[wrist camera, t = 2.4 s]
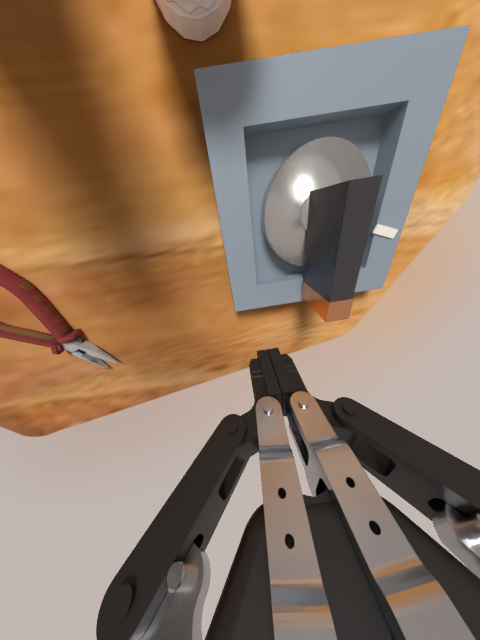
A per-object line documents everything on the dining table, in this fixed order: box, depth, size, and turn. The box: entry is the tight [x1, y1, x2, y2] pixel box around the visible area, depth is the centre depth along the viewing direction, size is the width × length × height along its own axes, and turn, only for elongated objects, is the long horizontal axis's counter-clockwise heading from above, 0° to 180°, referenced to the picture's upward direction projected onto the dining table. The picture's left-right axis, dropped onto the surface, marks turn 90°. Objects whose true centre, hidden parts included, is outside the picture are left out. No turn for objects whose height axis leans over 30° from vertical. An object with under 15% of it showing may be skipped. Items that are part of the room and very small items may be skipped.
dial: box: [261, 137, 383, 322], centre depth 18 cm, size 16×12×9 cm
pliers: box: [0, 264, 118, 370], centre depth 27 cm, size 12×20×3 cm, turn 38°
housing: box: [194, 25, 471, 312], centre depth 20 cm, size 22×22×3 cm
